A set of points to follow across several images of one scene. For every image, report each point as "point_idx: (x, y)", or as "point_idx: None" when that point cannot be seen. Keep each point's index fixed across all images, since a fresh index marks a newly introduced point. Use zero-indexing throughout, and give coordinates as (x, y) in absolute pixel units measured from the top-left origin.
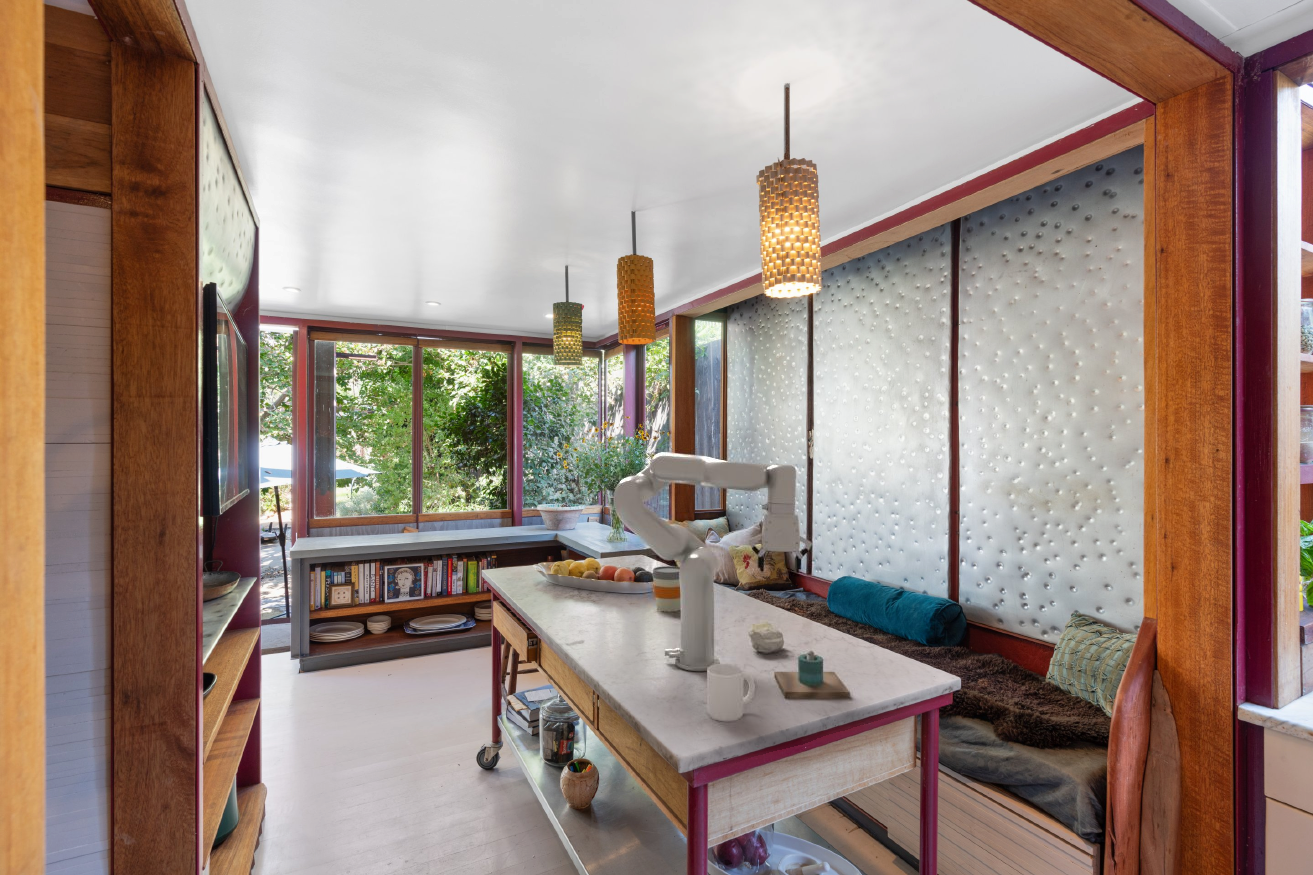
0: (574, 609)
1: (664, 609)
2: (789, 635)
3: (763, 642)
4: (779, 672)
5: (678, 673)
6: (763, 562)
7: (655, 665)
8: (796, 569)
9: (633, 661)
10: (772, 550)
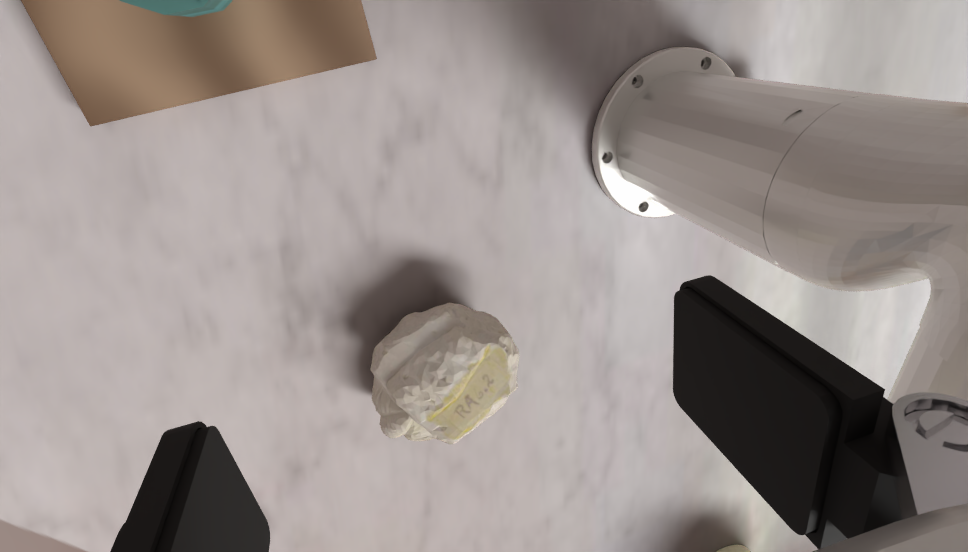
0: None
1: (737, 550)
2: (366, 517)
3: (450, 309)
4: (352, 53)
5: (729, 15)
6: (766, 352)
7: (794, 83)
8: (198, 453)
9: None
10: (869, 543)
